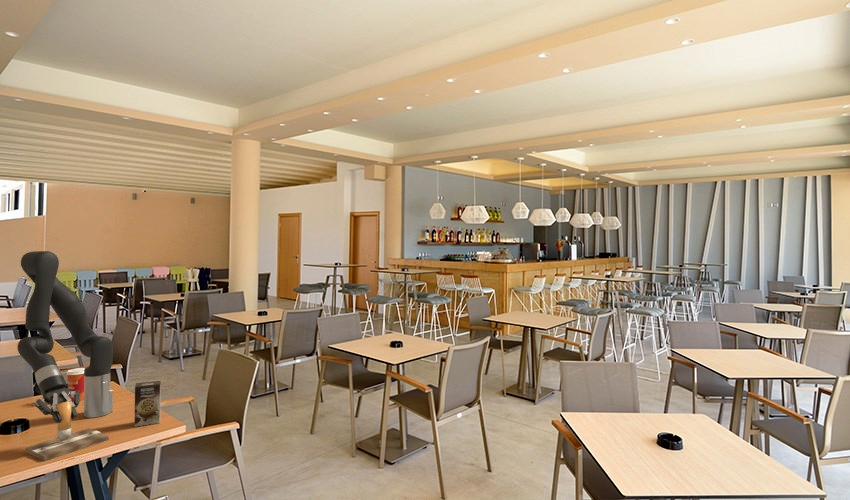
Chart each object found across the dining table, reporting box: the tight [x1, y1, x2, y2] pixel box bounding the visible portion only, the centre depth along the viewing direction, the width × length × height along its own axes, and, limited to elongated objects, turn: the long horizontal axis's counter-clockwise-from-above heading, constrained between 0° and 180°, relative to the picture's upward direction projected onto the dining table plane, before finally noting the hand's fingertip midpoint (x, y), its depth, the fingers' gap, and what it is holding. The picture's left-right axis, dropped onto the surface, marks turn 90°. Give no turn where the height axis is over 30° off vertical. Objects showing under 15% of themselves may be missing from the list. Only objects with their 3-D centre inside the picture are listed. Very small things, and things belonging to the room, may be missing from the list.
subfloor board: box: [24, 427, 109, 462], centre depth 170 cm, size 20×14×2 cm
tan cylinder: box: [56, 402, 72, 439], centre depth 169 cm, size 4×4×12 cm
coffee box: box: [133, 380, 162, 428], centre depth 192 cm, size 9×6×16 cm
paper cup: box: [66, 367, 85, 402], centre depth 220 cm, size 8×8×14 cm
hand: (67, 419), depth 168 cm, fingers closed on tan cylinder, 4 cm apart
